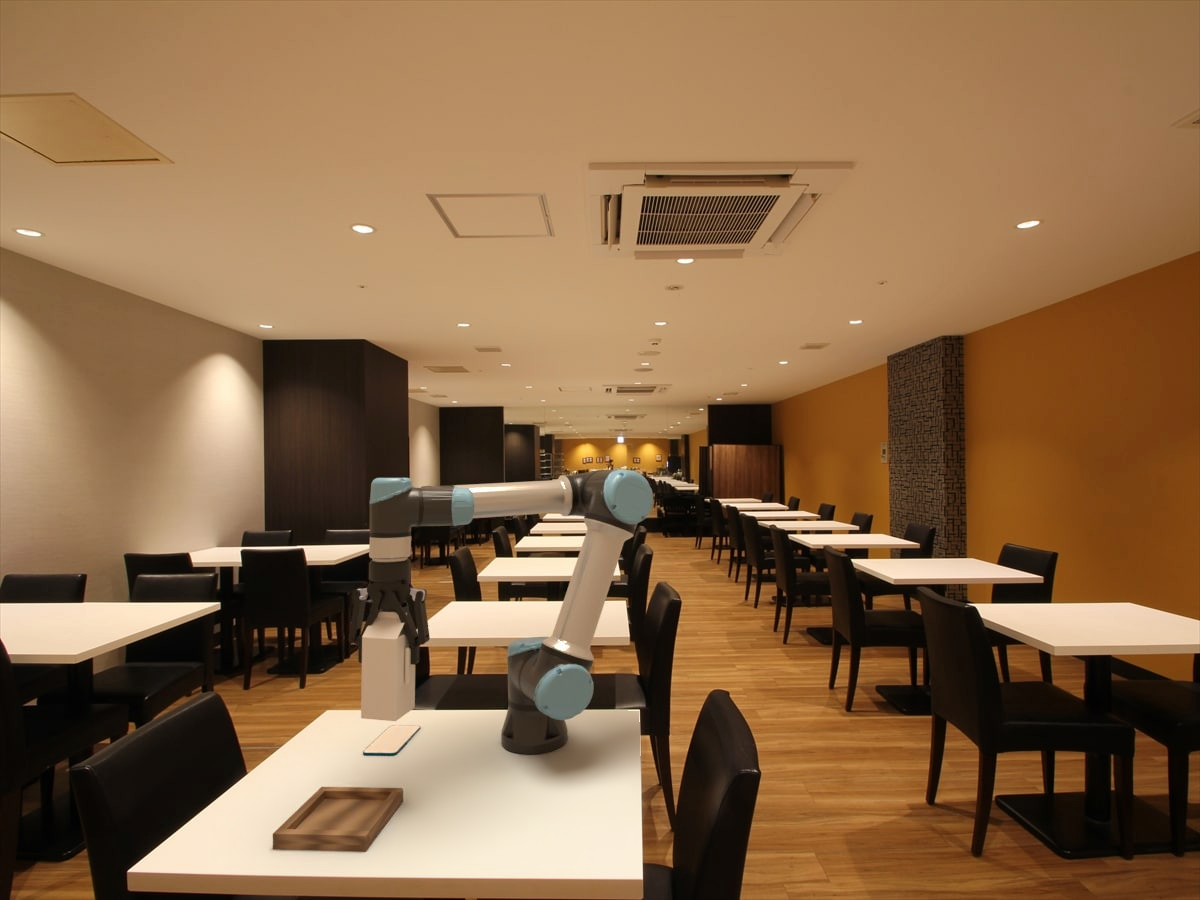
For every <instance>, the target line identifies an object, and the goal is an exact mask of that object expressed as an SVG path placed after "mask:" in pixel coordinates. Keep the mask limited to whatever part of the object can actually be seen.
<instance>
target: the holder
mask: <svg viewBox="0 0 1200 900" xmlns="http://www.w3.org/2000/svg"><path fill="white" fill-rule="evenodd" d="M403 803H404V788H403V787H370V786H369V787H363V786H362V787H361V786H358V787H355V786H350V787H349V786H320V788H319V789H318V790H316V792H314V793H313V794H312V795H311V796H310V797H309V798H308V799H307V800H306V801H305V802H304V803H303V804H302V805H300V807H299V808H298V809H297V810H296V811H295V812H294V813H293V814H291V815H290V816H289V817H288V818H287V819H286V820H285V821H284V822H283V823H282V824H281V825H280V826H279V827H278V828H277V829H276V830H275V831H274V832H273V833H272V849H273V850H294V851H295V850H297V851H298V850H299V851H339V852H342V851H343V852H344V851H345V852H367V851H368V849H369V848H370V847H371V845H372V844H373V842H374V841H375V840H376V838H377V837H378V836H379V835H380V833H381V832H382V830H383V829H385V826H386V825H387V824H388V822H389V821H390V820H391V818H392V817H393V815H395V813H396V812H397V810H398V809H399V808H400V806H401V805H402V804H403Z"/></svg>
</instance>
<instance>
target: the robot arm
mask: <svg viewBox="0 0 1200 900" xmlns="http://www.w3.org/2000/svg"><path fill="white" fill-rule="evenodd" d="M653 493H654V492H653V489H652V488H651V484H649V481H648V480H647V479H646V478H645V476H644V475H642V474H641V473H639V472H637V471H634V470H631V469H630V470H629V469H625V468H617V469H599V470H598V469H597V470H592V471H587V472H583V473H576V474H569V475H566V474H565V475H560V476H559V477H558V478H557V479H554V480H553V479H551V480H533V481H514V482H493V483H478V484H477V483H476V484H475V483H474V484H473V483H472V484H456V485H455V484H454V485H453V484H452V485H437V486H436V485H434V486H431V485H423V486H421V487H413V484H412V480H411V478H409V477H376V478H374V479H373V480H372V482H371V484H370V494H369V495H370V497H369V501H368V502H369V544H368V545H369V550H368V556H369V557H368V558H370V559H371V560H370V562H368V580H369V582H368V586H367V587H366V588H362V587H361V588H357V589H355V590H353V591H352V593H351V594H352V599H353V607H352V612H351V613H352V615H351V618H350V619H351V620H350V626H349V627H350V628H349V632H348V633H349V634H348V637H347V638H348V640H347V641H348V642H349V643H351V644H352V643H353V644H356V645H357V647H358V658H357V659H358V663H359V664H362V636H363V634H364V632H365V630H366V628H367V626H371V625H372V624H373V622H374V621H375V619H376V618H377V616H378V614H379V611H383V610H385V609H390V610H395V611H394V612H396V614H398V616H399V619H400V621H401V623H404V625H403V629H404V632H405V635H406V637H407V640H408V643H409V645H410V646H408V647H407V648H405V684H409V683H411V682H412V681H413V680H414V679H415V680H416V665H417V664H419V662H420V647H421V645H423V646H424V644H426V643H428V642H429V641H430V639H431V638H430V630H429V623H428V622H429V621H428V614H427V608H426V598H427V592H428V591H427V590H426V589H425V588H423V589H417V588H413V586H412V584H411V571H412V570H411V567H412V566H411V564H412V563H411V560H410V559H409V557H410V556H412V555H411V554H412V553H411V551H412V549H411V548H412V527H436V526H437V527H441V526H443V527H445V526H453V527H456V526H465V525H469V524H470V523H472V521H473V519H481V518H484V519H485V518H496V517H509V516H511V517H512V516H524V515H527V516H528V515H537V514H538V515H539V514H541V515H542V514H554V513H555V514H556V513H558V514H560V516H563V517H570V516H573V517H575V516H576V517H584V518H583V522H584V524H585V526H586V528H587V530H586V533H585V536H584V539H583V542H582V544H581V548H580V550H579V553H578V556H577V560H576V563H575V566H574V569H573V572H572V574H571V576H570V577H571V578H570V581H569V583H568V587H567V590H566V592H565V596H564V599H563V602H562V605H561V607H560V609H559V610H560V611H559V614H558V616H557V619H556V623H555V625H554V629H553V631H552V633H551V636H535V637H534V636H533V637H532V636H531V637H525V638H520V639H516V640H513V641H511V642H510V643H509V644H508V646H507V655H506V659H507V662H506V663H507V694H508V695H507V696H508V697H507V699H508V708H507V712H506V715H505V719H504V722H503V725H502V728H501V736H500V737H501V738H500V739H501V741H500V742H501V746H502V747H503V748H504V749H505V750H507V751H509V752H512V753H515V754H523V755H537V754H543V753H547V752H548V753H549V752H552V751H554V750H555V751H556V750H557V749H560V748H561V747H563V746H564V745H566V743H567V741H568V739H569V738H568V737H569V735H568V734H569V733H568V725H567V722H566V720H567V721H568V720H570V719H572V718H575V717H577V716H578V715H580V714H581V713H582V712H584V710H585V709H586V708H587V707H588V706H589V704H590V702H591V700H592V698H593V695H594V686H595V685H594V680H593V678H592V676H591V674H590V672H591V670H592V666H593V663H594V661H595V658H594V655H593V652H592V650H591V645H592V642H593V640H594V637H595V633H596V631H597V627H598V624H599V621H600V618H601V615H602V612H603V608H604V606H605V602H606V600H607V596H608V593H609V591H610V587H611V584H612V581H613V577H614V574H615V572H616V568H617V565H618V562H619V559H620V556H621V552H622V550H623V547H624V543H625V542H626V541H628V540H630V539H631V538H634V535H635V532H636V529H637V526H638V523H641V522H642V521H644V520H645V519H647V518H648V516H649V515H650V513H651V512H652V509H653V504H654V494H653ZM368 596H369V598H370V599H371V600H372V603H371V606H370V608H369V614H368V616H367V618H366V621H365V624H364V625H363V623H364V615H365V608H366V601H367V598H368ZM410 596H412V597H411V599H412V601H413V602H414V603H413V606H414V613H415V614H414V615H415V621H416V622H414V620H413V617H412V614H411V613H410V607H409V604H408V601H407V600H408V598H409V597H410ZM406 613H407V615H406ZM415 623H416V626H415Z"/></svg>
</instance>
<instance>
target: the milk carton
mask: <svg viewBox="0 0 1200 900" xmlns="http://www.w3.org/2000/svg"><path fill="white" fill-rule="evenodd" d="M406 615H407V613H406ZM403 625H404V623H401V621H400V619H399V616H398V614H396V611H383V610H382V611H379V614H378V616H377V618H376V619H375V621H374V622H373V624H372V625H371V626H367V628H366V630H365V632H364V634H363V636H362V663H361V689H360V690H361V695H360V696H361V700H360V701H361V702H360V704H361V705H360V708H361V709H360V717H361V719H365V720H376V721H389V722H396V721H398V720H399V719H401V718H402V717H404V716H405V715H406V714H408V713H409V712H411V711H412V710H414V708H416V702H415V700H416V697H415V696H416V678H415V679H414V680H413V681H412V682H411V683H409V684H405V648H407V647H408V646H410V645H409V643H408V640H407V637H406V635H405V632H404V629H403Z"/></svg>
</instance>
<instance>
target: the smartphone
mask: <svg viewBox="0 0 1200 900" xmlns="http://www.w3.org/2000/svg"><path fill="white" fill-rule="evenodd" d="M420 730H421V726H420V725H411V724H409V725H408V724H406V725H402V724H400V725H399V724H395V725H389V726H388V727H387V728H386V729H385V730H384V731H382V732H381V734H380V735H379V736H377V738H375V739H374V741H372V742H371V743H370V744H369V745H368V746H366V748H365V749H364V750H363V751H362V756H364V757H365V756H366V757H394V756H397V755H398V754H399V753H400V752H401V751H402V750H403V749H404V748H405V747H406V746H407V745H408V743H409V742H410V741H411V740H412V739H413V738H414V737H415V735H417V733H418V732H419V731H420Z"/></svg>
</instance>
